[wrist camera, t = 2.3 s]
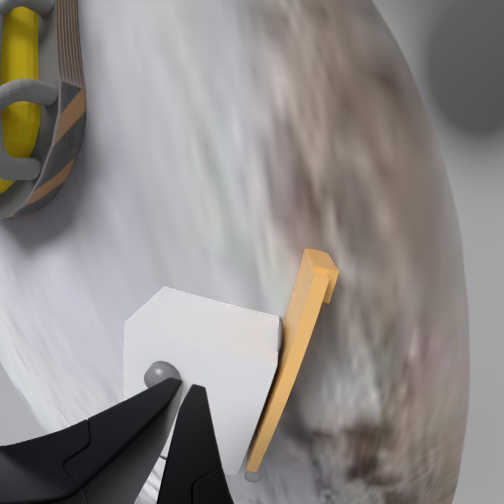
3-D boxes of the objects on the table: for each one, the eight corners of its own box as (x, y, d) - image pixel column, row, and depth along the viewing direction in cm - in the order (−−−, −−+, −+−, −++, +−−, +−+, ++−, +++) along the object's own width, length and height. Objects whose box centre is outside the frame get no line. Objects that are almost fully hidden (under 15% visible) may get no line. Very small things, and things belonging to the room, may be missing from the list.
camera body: (242, 434, 23) (231, 496, 16) (152, 408, 23) (121, 462, 17) (281, 309, 20) (280, 366, 14) (165, 279, 21) (118, 319, 14)
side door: (265, 427, 22) (259, 483, 17) (250, 424, 23) (241, 480, 17) (325, 249, 19) (342, 277, 13) (305, 244, 19) (315, 270, 13)
